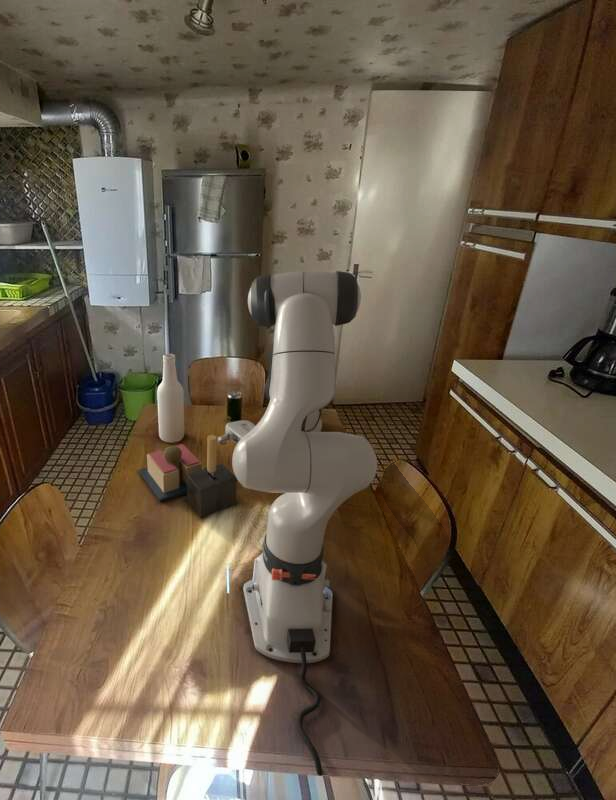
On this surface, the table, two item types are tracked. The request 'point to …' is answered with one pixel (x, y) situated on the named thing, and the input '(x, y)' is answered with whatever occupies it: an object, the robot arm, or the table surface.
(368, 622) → the table surface
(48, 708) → the table surface
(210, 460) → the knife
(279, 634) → the robot arm
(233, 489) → the knife holder
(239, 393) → the beer can
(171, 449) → the brown piece
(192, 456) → the twin pink pillar stand
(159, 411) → the alcohol
